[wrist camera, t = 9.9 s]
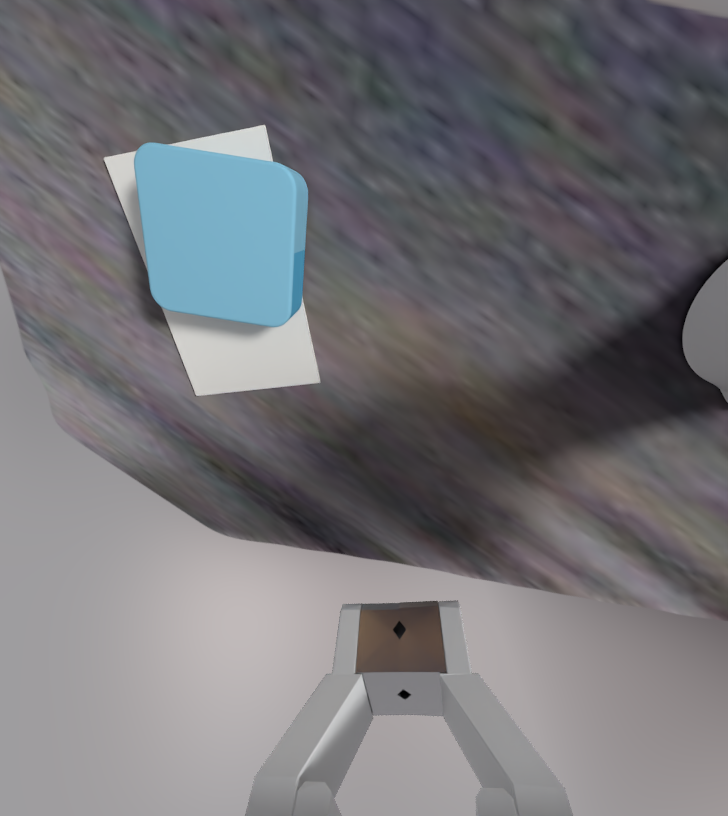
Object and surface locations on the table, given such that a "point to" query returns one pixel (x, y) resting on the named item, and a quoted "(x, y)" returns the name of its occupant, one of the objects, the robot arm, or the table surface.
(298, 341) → the mat
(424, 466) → the table surface
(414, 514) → the table surface
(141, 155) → the data package
